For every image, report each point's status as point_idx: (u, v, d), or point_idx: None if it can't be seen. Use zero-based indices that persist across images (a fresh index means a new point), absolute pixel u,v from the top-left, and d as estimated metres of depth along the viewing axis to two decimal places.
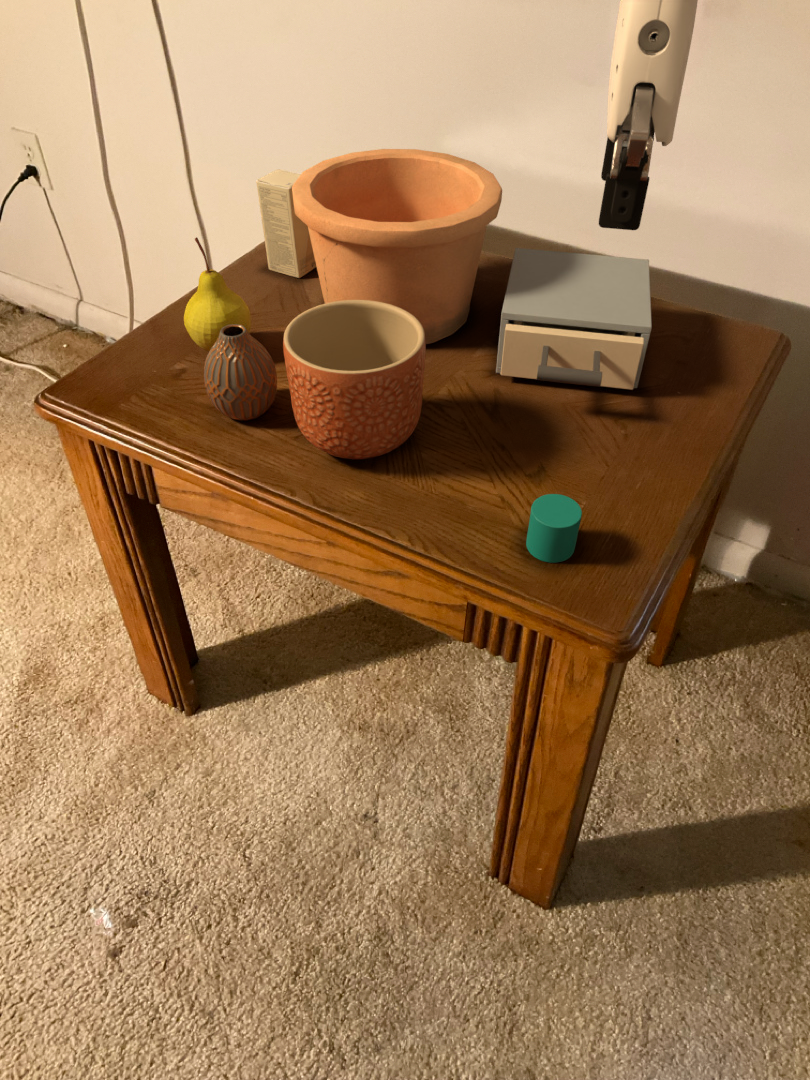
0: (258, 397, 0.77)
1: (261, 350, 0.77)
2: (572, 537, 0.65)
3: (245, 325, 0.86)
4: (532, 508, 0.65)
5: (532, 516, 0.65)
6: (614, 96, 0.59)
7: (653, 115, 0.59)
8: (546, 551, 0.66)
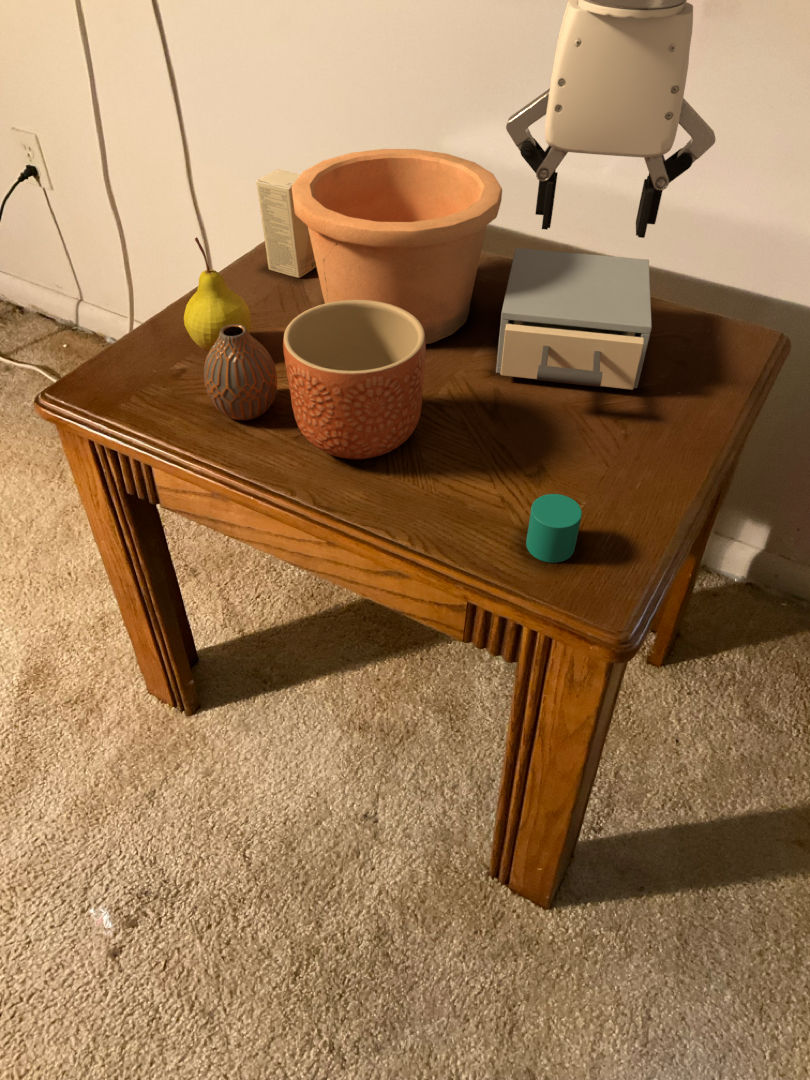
0: (258, 397, 0.77)
1: (261, 350, 0.77)
2: (572, 537, 0.65)
3: (245, 325, 0.86)
4: (532, 508, 0.65)
5: (532, 516, 0.65)
6: (676, 113, 0.61)
7: None
8: (546, 551, 0.66)
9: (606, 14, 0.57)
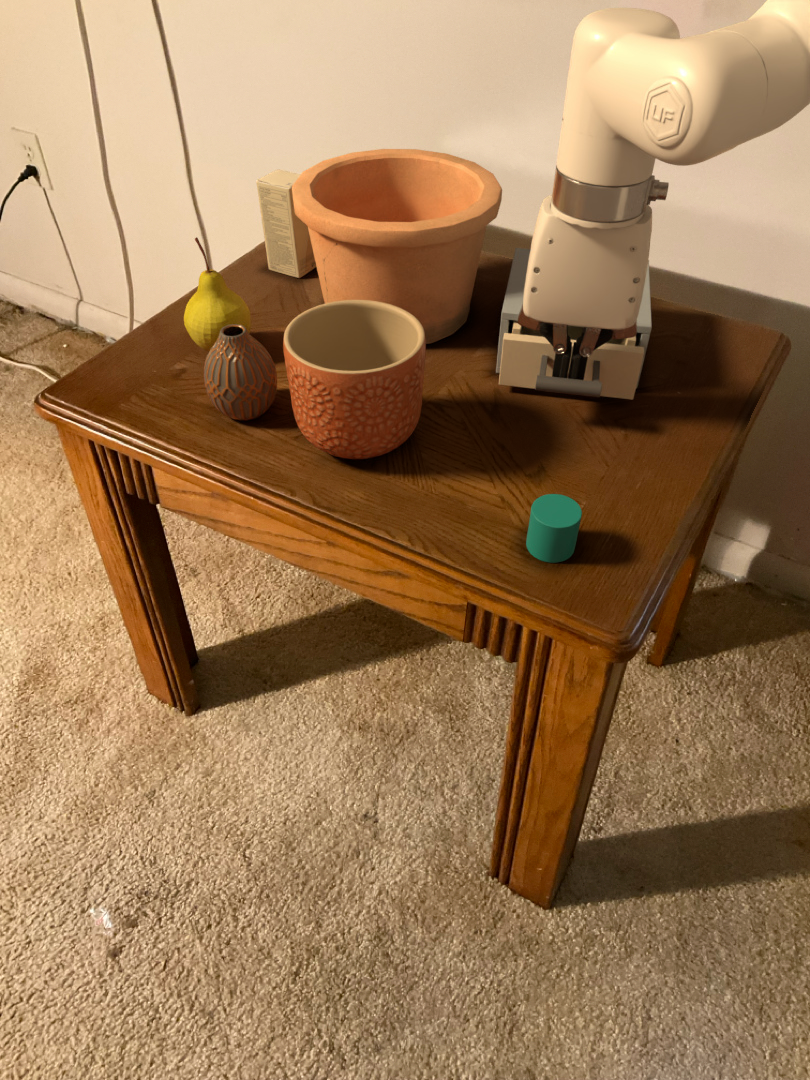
0: (258, 397, 0.77)
1: (261, 350, 0.77)
2: (572, 537, 0.65)
3: (245, 325, 0.86)
4: (532, 508, 0.65)
5: (532, 516, 0.65)
6: (638, 297, 0.69)
7: None
8: (546, 551, 0.66)
9: (574, 224, 0.65)
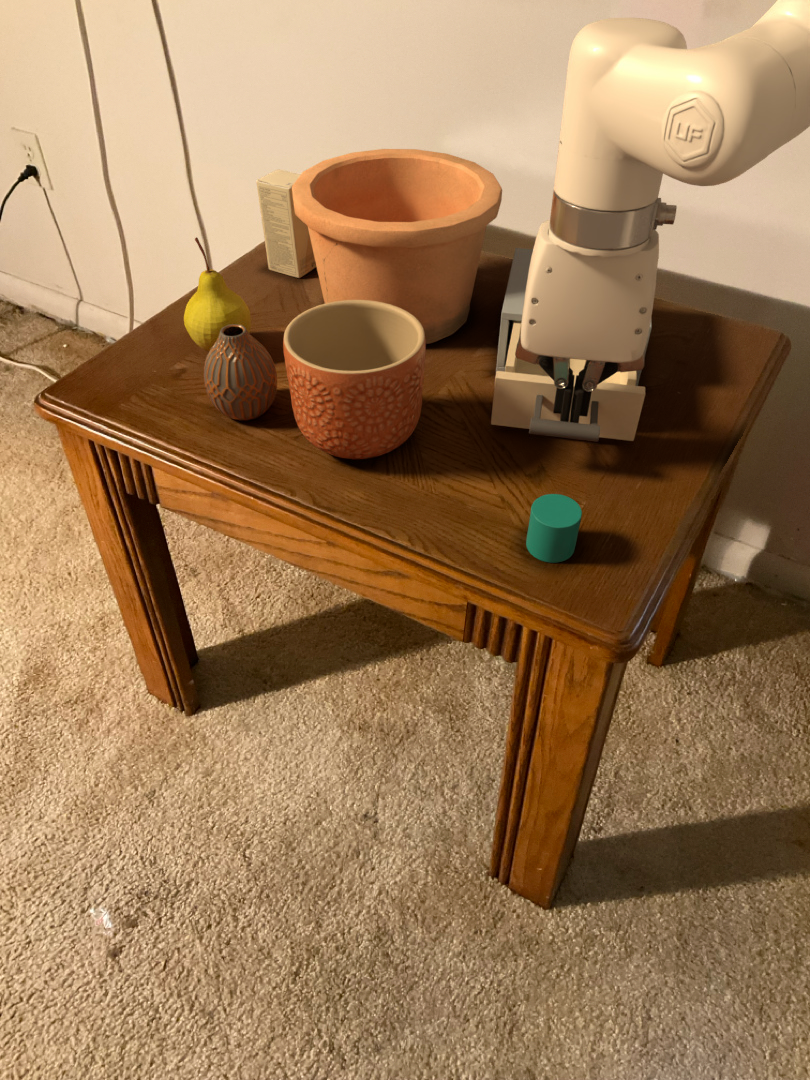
0: (258, 397, 0.77)
1: (261, 350, 0.77)
2: (572, 537, 0.65)
3: (245, 325, 0.86)
4: (532, 508, 0.65)
5: (532, 516, 0.65)
6: (645, 329, 0.64)
7: None
8: (546, 551, 0.66)
9: (574, 252, 0.60)
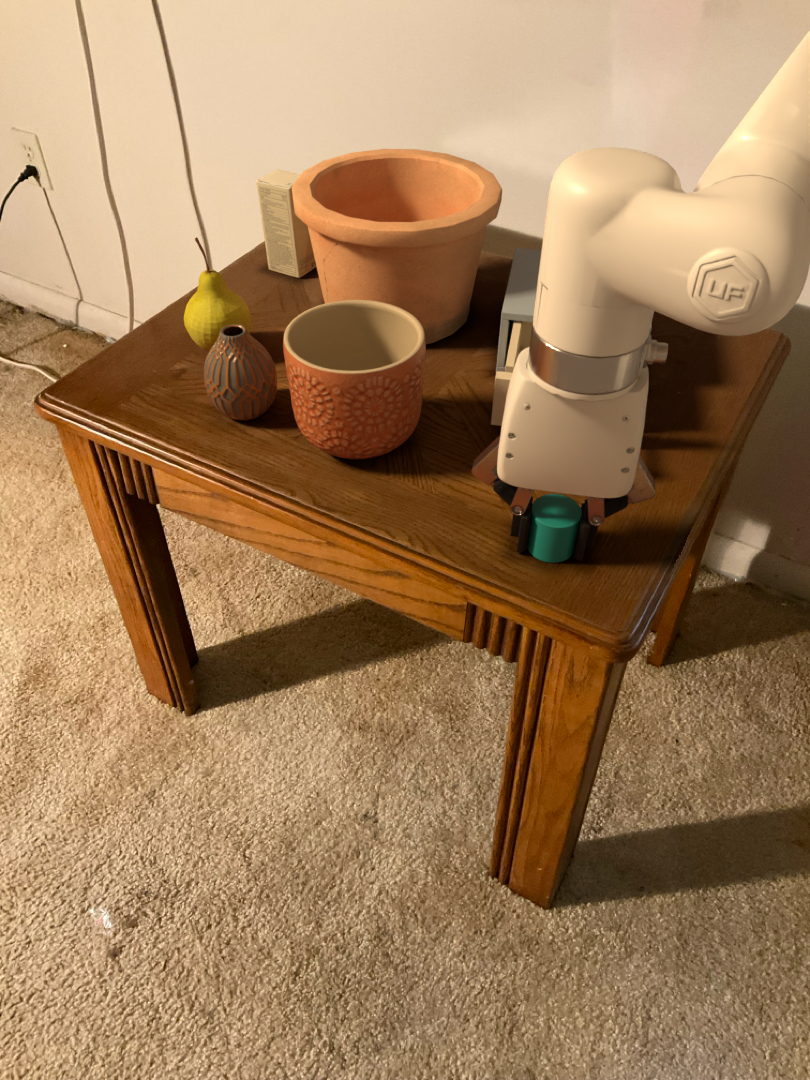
0: (258, 397, 0.77)
1: (261, 350, 0.77)
2: (572, 537, 0.65)
3: (245, 325, 0.86)
4: (532, 508, 0.65)
5: (532, 516, 0.65)
6: (633, 467, 0.58)
7: None
8: (546, 551, 0.66)
9: (555, 394, 0.54)
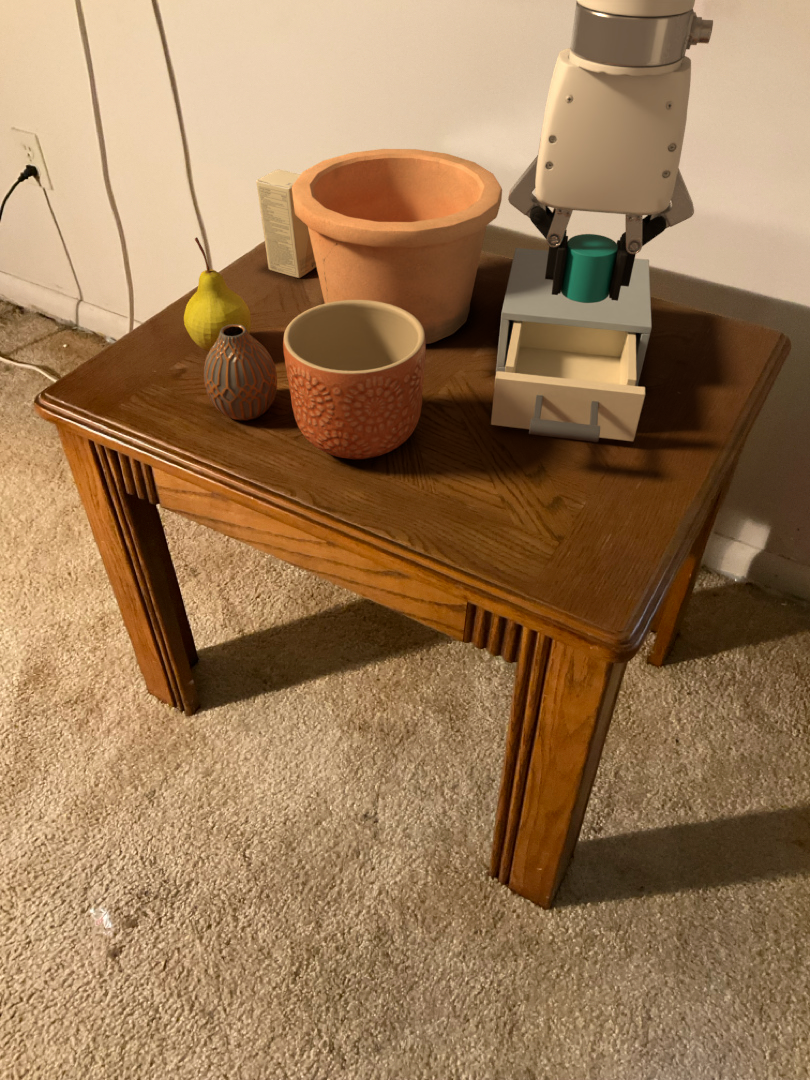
0: (258, 397, 0.77)
1: (261, 350, 0.77)
2: (609, 271, 0.65)
3: (245, 325, 0.86)
4: (568, 243, 0.65)
5: (568, 250, 0.65)
6: (674, 171, 0.58)
7: None
8: (582, 288, 0.65)
9: (599, 71, 0.53)
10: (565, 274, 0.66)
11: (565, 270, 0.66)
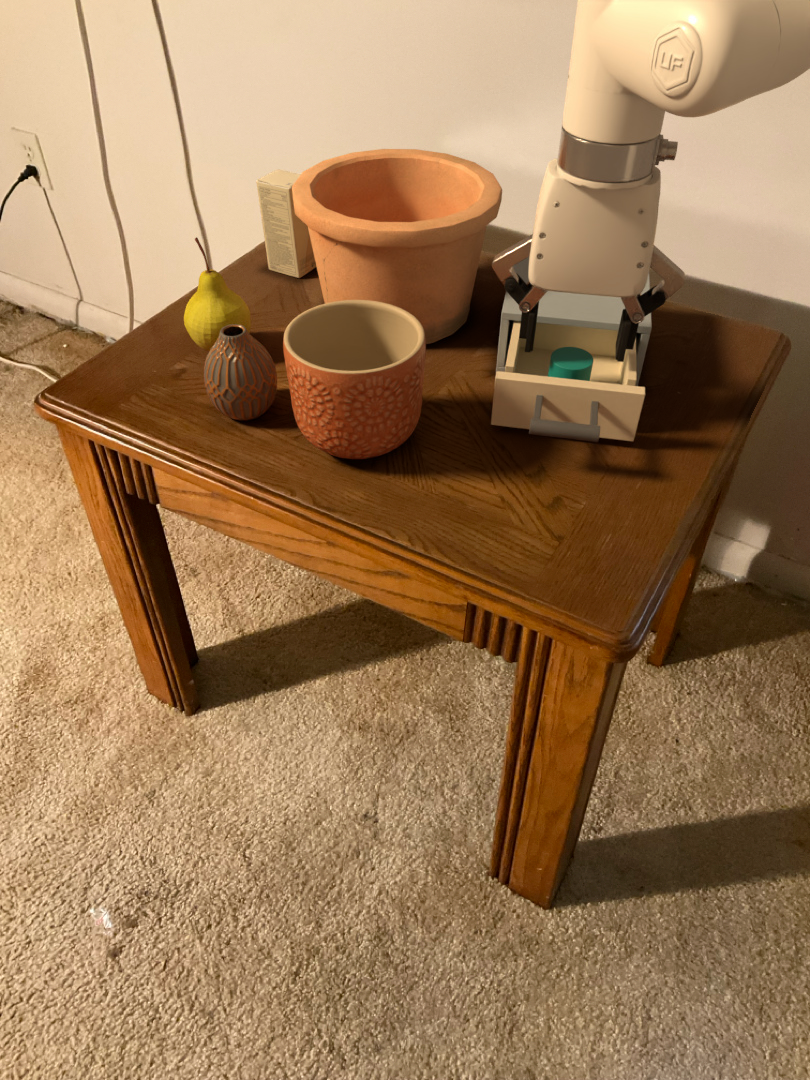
0: (258, 397, 0.77)
1: (261, 350, 0.77)
2: (585, 380, 0.77)
3: (245, 325, 0.86)
4: (551, 356, 0.77)
5: (551, 362, 0.77)
6: (647, 263, 0.68)
7: None
8: None
9: (581, 185, 0.63)
10: None
11: None
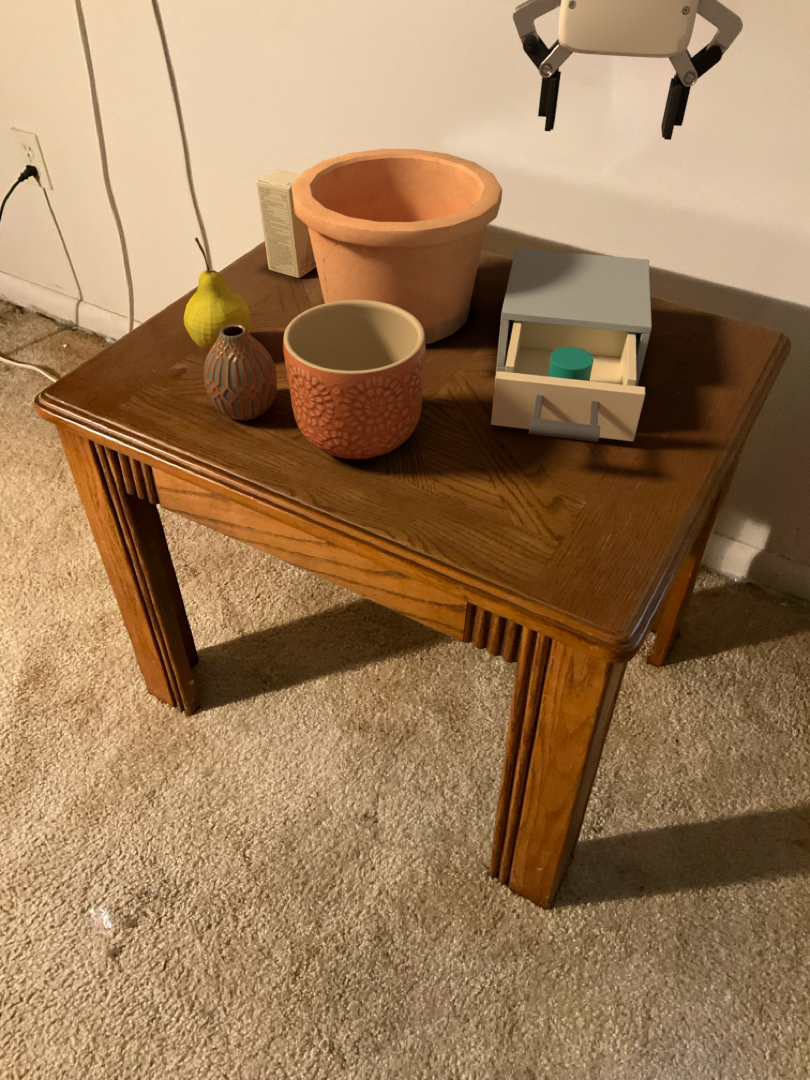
0: (258, 397, 0.77)
1: (261, 350, 0.77)
2: (585, 380, 0.77)
3: (245, 325, 0.86)
4: (551, 356, 0.77)
5: (551, 362, 0.77)
6: (693, 7, 0.60)
7: None
8: None
9: None
10: None
11: None
